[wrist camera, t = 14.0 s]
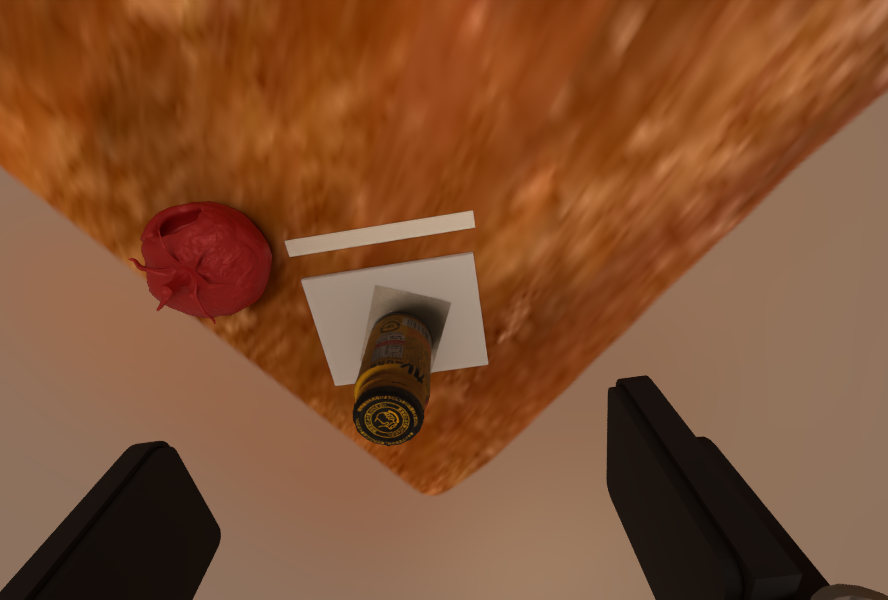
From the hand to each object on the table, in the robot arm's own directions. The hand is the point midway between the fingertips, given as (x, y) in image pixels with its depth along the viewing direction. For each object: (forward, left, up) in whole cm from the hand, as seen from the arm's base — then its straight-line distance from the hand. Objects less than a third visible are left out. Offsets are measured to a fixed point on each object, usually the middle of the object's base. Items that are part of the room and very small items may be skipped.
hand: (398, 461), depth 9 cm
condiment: (+13, -4, -30) cm, 33 cm away
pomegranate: (+2, -19, -30) cm, 36 cm away
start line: (+3, -5, -30) cm, 31 cm away
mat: (+12, -5, -30) cm, 33 cm away
